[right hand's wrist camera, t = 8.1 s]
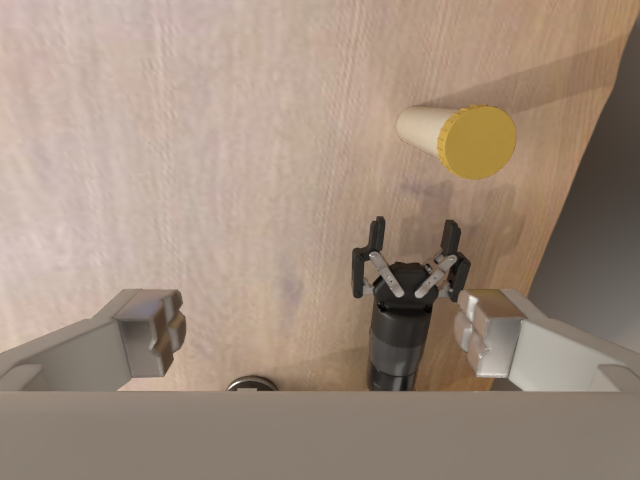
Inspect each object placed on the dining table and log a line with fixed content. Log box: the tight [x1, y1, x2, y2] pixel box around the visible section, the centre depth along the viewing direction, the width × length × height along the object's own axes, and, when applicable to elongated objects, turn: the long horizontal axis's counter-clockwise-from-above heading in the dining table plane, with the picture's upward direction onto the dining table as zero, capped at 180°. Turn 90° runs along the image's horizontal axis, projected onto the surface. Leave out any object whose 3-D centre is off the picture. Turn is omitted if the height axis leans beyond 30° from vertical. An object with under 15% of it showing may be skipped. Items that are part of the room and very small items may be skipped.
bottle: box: [396, 106, 459, 160], centre depth 35 cm, size 5×5×18 cm
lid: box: [436, 105, 516, 179], centre depth 27 cm, size 6×6×2 cm
